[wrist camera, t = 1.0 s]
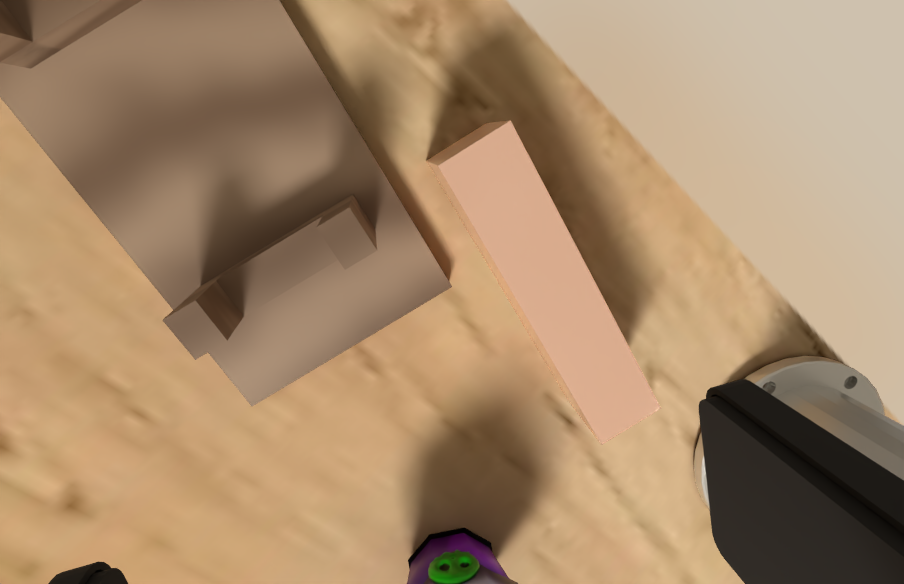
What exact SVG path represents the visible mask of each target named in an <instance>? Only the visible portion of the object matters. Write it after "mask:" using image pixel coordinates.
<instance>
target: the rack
mask: <svg viewBox="0 0 904 584" xmlns="http://www.w3.org/2000/svg"><path fill="white" fill-rule="evenodd" d="M0 97H1V99H2V100H3V101H4V102H5V104H6V105H7V106H8V107H9V109H10V110H11V111H12V112H13V113H14V115H15V116H16V117H17V118H18V120H19V121H20V122H21V123H22V125H23V126H24V127H25V128H26V129H27V131H28V132H29V133H30V134H31V136H32V137H33V138H34V139H35V140H36V142H37V143H38V144H39V145H40V147H41V148H42V149H43V150H44V152H45V153H46V154H47V155H48V156H49V158H50V159H51V160H52V161H53V163H54V164H55V165H56V166H57V168H58V169H59V170H60V171H61V172H62V174H63V175H64V176H65V177H66V179H67V180H68V181H69V182H70V183H71V185H72V186H73V187H74V188H75V190H76V191H77V192H78V193H79V195H80V196H81V197H82V198H83V199H84V201H85V202H86V203H87V204H88V206H89V207H90V208H91V209H92V211H93V212H94V213H95V214H96V215H97V217H98V218H99V219H100V220H101V222H102V223H103V224H104V225H105V226H106V228H107V229H108V230H109V231H110V233H111V234H112V235H113V236H114V238H115V239H116V240H117V241H118V242H119V244H120V245H121V246H122V247H123V249H124V250H125V251H126V252H127V254H128V255H129V256H130V257H131V258H132V260H133V261H134V262H135V263H136V265H137V266H138V267H139V268H140V270H141V271H142V272H143V273H144V274H145V276H146V277H147V278H148V279H149V281H150V282H151V283H152V284H153V285H154V287H155V288H156V289H157V290H158V292H159V293H160V294H161V295H162V297H163V298H164V299H165V300H166V301H167V303H168V304H169V305H170V306H171V308H172V309H173V311H172V312H171V313H170V314H169V315H168V316H167V317H165V318H164V319H163V321H164V322H165V324H166V325H167V326H168V327H169V329H170V330H171V331H172V332H173V333H174V335H175V336H176V337H177V338H178V339H179V341H180V342H181V343H182V344H183V345H184V347H185V348H186V349H187V350H188V351H189V353H190V354H191V355H192V356H193V358H194V359H195V360H196V359H198V358H199V357H201V356H203V355H204V354H206V353H209V354H210V356H211V357H212V358H213V359H214V360H215V362H216V363H217V364H218V365H219V367H220V368H221V369H222V370H223V371H224V373H225V374H226V375H227V376H228V378H229V379H230V380H231V381H232V383H233V384H234V385H235V386H236V387H237V389H238V390H239V391H240V392H241V394H242V395H243V396H244V397H245V399H246V400H247V401H248V402H249V403H250V405H251V406H254V405H255V404H257V403H259V402H260V401H262V400H264V399H265V398H267V397H269V396H270V395H272V394H274V393H275V392H277V391H279V390H280V389H282V388H284V387H285V386H287V385H289V384H290V383H292V382H294V381H295V380H297V379H299V378H300V377H302V376H304V375H305V374H307V373H309V372H310V371H312V370H314V369H315V368H317V367H319V366H320V365H322V364H324V363H325V362H327V361H329V360H331V359H332V358H334V357H336V356H337V355H339V354H341V353H342V352H344V351H346V350H347V349H349V348H351V347H352V346H354V345H356V344H357V343H359V342H361V341H362V340H364V339H366V338H367V337H369V336H371V335H372V334H374V333H376V332H377V331H379V330H381V329H382V328H384V327H386V326H387V325H389V324H391V323H392V322H394V321H396V320H397V319H399V318H401V317H402V316H404V315H406V314H407V313H409V312H411V311H412V310H414V309H416V308H417V307H419V306H421V305H422V304H424V303H426V302H427V301H429V300H431V299H432V298H434V297H436V296H437V295H439V294H441V293H442V292H444V291H446V290H448V289H449V288H451V287H452V286H451V284H450V282H449V281H448V279H447V277H446V276H445V274H444V272H443V271H442V269H441V267H440V266H439V264H438V262H437V261H436V259H435V257H434V256H433V254H432V252H431V251H430V249H429V247H428V246H427V244H426V242H425V241H424V239H423V237H422V236H421V234H420V232H419V231H418V229H417V228H416V226H415V224H414V223H413V221H412V219H411V218H410V216H409V214H408V213H407V211H406V209H405V208H404V206H403V204H402V203H401V201H400V199H399V198H398V196H397V194H396V193H395V191H394V189H393V188H392V186H391V184H390V183H389V181H388V179H387V178H386V176H385V174H384V173H383V171H382V169H381V168H380V166H379V164H378V163H377V161H376V159H375V158H374V156H373V155H372V153H371V151H370V150H369V148H368V146H367V145H366V143H365V141H364V140H363V138H362V136H361V135H360V133H359V131H358V130H357V128H356V126H355V125H354V123H353V121H352V120H351V118H350V116H349V115H348V113H347V111H346V110H345V108H344V106H343V105H342V103H341V101H340V100H339V98H338V96H337V95H336V93H335V91H334V90H333V88H332V87H331V85H330V83H329V82H328V80H327V78H326V77H325V75H324V73H323V72H322V70H321V68H320V67H319V65H318V63H317V62H316V60H315V58H314V57H313V55H312V53H311V52H310V50H309V48H308V47H307V45H306V43H305V42H304V40H303V38H302V37H301V35H300V33H299V32H298V30H297V28H296V27H295V25H294V23H293V22H292V20H291V19H290V17H289V15H288V14H287V12H286V10H285V9H284V7H283V5H282V4H281V2H280V0H0Z"/></svg>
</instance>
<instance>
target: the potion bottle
mask: <svg viewBox="0 0 904 584" xmlns="http://www.w3.org/2000/svg"><path fill="white" fill-rule="evenodd" d="M408 562H409V568H410V571H409V577H408V582H407V584H518V583H517V582H515V581H513V580H511V579H509V578H508V576H507V575H506V573H505V572H504V570H503V568H502V567H501V565H500V564H499V562H498V561H497V559H496V558H495V556H494V555H493V553H492V547H491V543H490V542H489V541H487V540H485V539H483V538H482V537H480V536H478V535H476V534H475V533H473V532H471V531H469V530H468V529H466V528H460V529H456V530H451V531H446V532H441V533H436V534H431V535H429V536H428V537H427V538H426V540H425V541H424V542H423V543H422V544H421V545H420V547H419V548H418V549H417V550H416V551H415V553H414V554H413V555H412V556H411V557H410V559H409V560H408Z"/></svg>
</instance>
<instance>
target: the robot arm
mask: <svg viewBox="0 0 904 584" xmlns="http://www.w3.org/2000/svg"><path fill="white" fill-rule="evenodd" d="M699 416H700V425H701V433H700V436H699V440H698V443H697V447H696V450H695V459H694V474H695V483H696V486H697V489H698V491H699V494H700V497H701V498H702V500H703V501H704V503H705V504H706V506H707V507H708V509H709V510H710V516H711V525H712V533H713V537H714V540H715V543H716V545H717V548H718V549H719V551H720V553H721V555H722V556H723V557H724V559H725V560H726V561H727V562H728V564H729V565H730V566H731V567H732V568H733V570H734V571H735V572H736V573H737V574H738V576H739V577H740V578H741V579H742V581H743V582H744V583H745V584H904V426H903V425H901V424H899V423H898V422H896V421H894V420H892V419H890V418H888V417H886V416H885V414H884V409H883V404H882V401H881V399H880V397H879V394H878V392H877V390H876V389H875V387H874V386H873V385H872V384H871V383H870V381H869V380H868V379H867V378H866V377H865V376H863V375H862V374H860V373H859V372H858V371H856V370H855V369H853V368H851V367H849V366H847V365H845V364H843V363H840V362H838V361H836V360H832V359H829V358H825V357H821V356H799V357H793V358H787V359H783V360H780V361H777V362H774V363H772V364H769V365H766V366H764V367H763V368H761V369H759V370H757V371H755V372H753V373H751V374H750V375H748V376H747V377H746V378H744V379H740V380H737V381H733V382H730V383H726V384H723V385H719V386H716V387H712V388H710V389H709V390H708V391H707V394H706V399H704V400H702V401H700V403H699ZM49 584H128V582H127V580H126V579H125V577H124V575H123V573H122V572H121V571H120V570H119V569H117V568H111V567H110V566H109V565H108V564H106V563H104V562H96V563H93V564H89V565H86V566H82V567H79V568H75V569H72V570H68V571H65V572H62V573H60V574H57V575H56V576H55V577H54V578H53V579H52V580H51V581H50V582H49Z"/></svg>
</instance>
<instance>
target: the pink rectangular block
mask: <svg viewBox="0 0 904 584" xmlns="http://www.w3.org/2000/svg"><path fill="white" fill-rule="evenodd" d="M426 162H427V163H428V165H429V167H430V168H431V170H432V172H433V173H434V175H435V177H436V179H437V180H438V182H439V184H440V185H441V187H442V189H443V190H444V192H445V194H446V195H447V197H448V199H449V200H450V202H451V204H452V206H453V207H454V209H455V211H456V212H457V214H458V216H459V217H460V219H461V221H462V222H463V224H464V226H465V227H466V229H467V231H468V233H469V234H470V236H471V238H472V239H473V241H474V243H475V244H476V246H477V248H478V249H479V251H480V253H481V254H482V256H483V258H484V260H485V261H486V263H487V265H488V266H489V268H490V270H491V271H492V273H493V275H494V276H495V278H496V280H497V281H498V283H499V285H500V287H501V288H502V290H503V292H504V293H505V295H506V297H507V298H508V300H509V302H510V303H511V305H512V307H513V308H514V310H515V312H516V314H517V315H518V317H519V319H520V320H521V322H522V324H523V325H524V327H525V329H526V330H527V332H528V334H529V336H530V337H531V339H532V341H533V342H534V344H535V346H536V347H537V349H538V351H539V352H540V354H541V356H542V357H543V359H544V361H545V363H546V364H547V366H548V368H549V369H550V371H551V373H552V374H553V376H554V378H555V379H556V381H557V383H558V384H559V386H560V388H561V390H562V391H563V393H564V395H565V396H566V398H567V400H568V401H569V402H570V404H571V405H572V406H573V408H574V409H575V410H576V412H577V413H578V414H579V416H580V417H581V418H582V420H583V421H584V422H585V424H586V425H587V426H588V428H589V429H590V430H591V432H592V433H593V434H594V436H595V437H596V438H597V439H598V441H599V442H600V443H601V445H602V444H604V443H605V442H607V441H609V440H610V439H612V438H614V437H615V436H617V435H619V434H620V433H622V432H623V431H625V430H627V429H628V428H630V427H632V426H633V425H635V424H637V423H638V422H640V421H641V420H643V419H645V418H646V417H648V416H650V415H651V414H653V413H655V412H656V411H658V410H659V409H661V407H660V405H659V403H658V401H657V399H656V398H655V396H654V394H653V392H652V390H651V388H650V386H649V384H648V382H647V380H646V378H645V376H644V375H643V373H642V371H641V369H640V367H639V365H638V363H637V361H636V359H635V357H634V355H633V354H632V352H631V350H630V348H629V346H628V344H627V342H626V340H625V338H624V336H623V334H622V333H621V331H620V329H619V327H618V325H617V323H616V321H615V319H614V317H613V315H612V313H611V312H610V310H609V308H608V306H607V304H606V302H605V300H604V298H603V296H602V294H601V292H600V290H599V289H598V287H597V285H596V283H595V281H594V279H593V277H592V275H591V273H590V271H589V269H588V268H587V266H586V264H585V262H584V260H583V258H582V256H581V254H580V252H579V250H578V248H577V247H576V245H575V243H574V241H573V239H572V237H571V235H570V233H569V231H568V229H567V227H566V225H565V224H564V222H563V220H562V218H561V216H560V214H559V212H558V210H557V208H556V206H555V204H554V203H553V201H552V199H551V197H550V195H549V193H548V191H547V189H546V187H545V185H544V183H543V182H542V180H541V178H540V176H539V174H538V172H537V170H536V168H535V166H534V164H533V162H532V161H531V159H530V157H529V155H528V153H527V151H526V149H525V147H524V145H523V143H522V141H521V139H520V138H519V136H518V134H517V132H516V130H515V128H514V126H513V124H512V122H511V120H510V121H501V122H491V123H486V124H484V125H482V126H481V127H479V128H478V129H476V130H474V131H473V132H471V133H470V134H468V135H466V136H465V137H463V138H462V139H460V140H458V141H457V142H455V143H454V144H452V145H450V146H449V147H447V148H446V149H444V150H442V151H441V152H439V153H438V154H436V155H434V156H433V157H431V158H430V159H428V160H426Z"/></svg>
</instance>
